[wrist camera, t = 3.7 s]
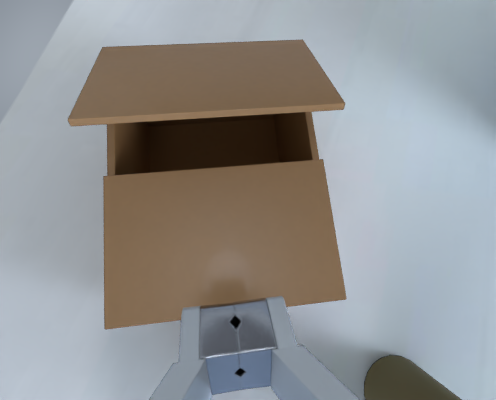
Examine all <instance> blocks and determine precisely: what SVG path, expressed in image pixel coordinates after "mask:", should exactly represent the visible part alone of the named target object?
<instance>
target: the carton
mask: <svg viewBox="0 0 496 400" xmlns="http://www.w3.org/2000/svg"><path fill="white" fill-rule="evenodd" d="M107 175H108V176H104V323H105V329H113V328H121V327H129V326H137V325H145V324H153V323H161V322H169V321H177V320H181V315H182V310H183V308H186V307H195V306H204V305H214V304H225V303H233V302H237V301H244V300H251V299H258V298H269V297H277V296H282V297H283V298H284V301H285V304H286V307H289V306H297V305H305V304H313V303H321V302H329V301H337V300H345V299H346V293H345V287H344V281H343V275H342V269H341V263H340V257H339V251H338V245H337V239H336V234H335V228H334V222H333V216H332V210H331V204H330V198H329V192H328V186H327V180H326V174H325V168H324V162H323V159H320V160H319V155H318V149H317V143H316V137H315V131H314V125H313V119H312V113H311V112H297V113H281V114H264V115H248V116H232V117H215V118H199V119H182V120H166V121H150V122H133V123H117V124H107Z"/></svg>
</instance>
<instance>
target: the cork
mask: <svg viewBox="0 0 496 400" xmlns="http://www.w3.org/2000/svg"><path fill="white" fill-rule="evenodd" d="M364 396H365V399H366V400H461V399H460V398H459V397H457V396H456V395H455V394H453V393H452V392H451V391H449V390H448V389H447V388H446V387H444V386H443V385H442V384H440V383H439V382H438V381H436V380H435V379H434V378H432V377H431V376H430V375H429V374H427V373H426V372H425V371H423V370H422V369H421V368H419V367H418V366H417V365H415V364H414V363H413V362H412V361H410V360H408V359H406V358H404V357H401V356H394V355H389V356H386V357H383V358H380V359H379V360H378V361H376V362H375V363H374V364H373V365H372V366H371V368H370V369H369V371H368V373H367V376H366V379H365V383H364Z"/></svg>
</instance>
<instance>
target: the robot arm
mask: <svg viewBox="0 0 496 400" xmlns="http://www.w3.org/2000/svg"><path fill="white" fill-rule="evenodd" d="M267 386H271V388H272V390H273V391H274V392H275V394H276V395H277V396H278V398H279V399H280V400H360V399H359V398H358V397H357V396H355V395H354V394H353V393H352V392H351V391H350V390H349V389H348V388H347V387H346V386H345V385H344V384H343V383H342V382H341V381H340V380H339V379H338V378H337V377H335V376H334V375H333V374H332V373H331V372H330V371H329V370H328V369H327V368H326V367H325V366H324V365H323V364H322V363H321V362H320V361H319V360H318V359H317V358H315V357H314V356H313V355H312V354H311V353H310V352H309V351H308V350H307V349H306V348H305V347H304V346H303V345H300V346H297V342H296V339H295V335H294V332H293V329H292V325H291V322H290V318H289V315H288V311H287V308H286V304H285V301H284V298H283V297H282V296H277V297H269V298H258V299H251V300H244V301H237V302H233V303H225V304H214V305H204V306H195V307H186V308H183V310H182V315H181V330H180V346H179V362H178V363H173V364H172V366H171V367H170V369H169V370H168V372H167V373H166V375H165V376H164V378H163V379H162V381H161V382H160V384H159V385H158V387H157V388H156V390H155V391H154V393H153V394H152V396H151V397H150V399H149V400H211V399H212V395H215V394H220V393H226V392H231V391H237V390H241V389H251V388H259V387H267Z"/></svg>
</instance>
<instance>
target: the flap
mask: <svg viewBox="0 0 496 400" xmlns="http://www.w3.org/2000/svg"><path fill="white" fill-rule="evenodd" d="M344 106H345V102H344V101H343V99H342V98H341V96H340V95H339V93H338V92H337V90H336V89H335V87H334V86H333V84H332V83H331V81H330V80H329V78H328V77H327V75H326V74H325V72H324V71H323V69H322V68H321V66H320V65H319V63H318V62H317V60H316V59H315V57H314V56H313V54H312V53H311V51H310V50H309V48H308V47H307V45H306V44H305V42H304V41H303V40H280V41H253V42H226V43H199V44H172V45H145V46H118V47H102V49H101V51H100V53H99V55H98V58H97V60H96V62H95V64H94V66H93V68H92V70H91V72H90V74H89V76H88V78H87V80H86V83H85V85H84V87H83V89H82V91H81V93H80V95H79V97H78V99H77V101H76V103H75V105H74V108H73V110H72V112H71V114H70V116H69V118H68V121H69V123H70V125H71V126H84V125H100V124H117V123H133V122H150V121H166V120H182V119H199V118H215V117H232V116H248V115H264V114H281V113H297V112H314V111H330V110H343V109H344Z"/></svg>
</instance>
